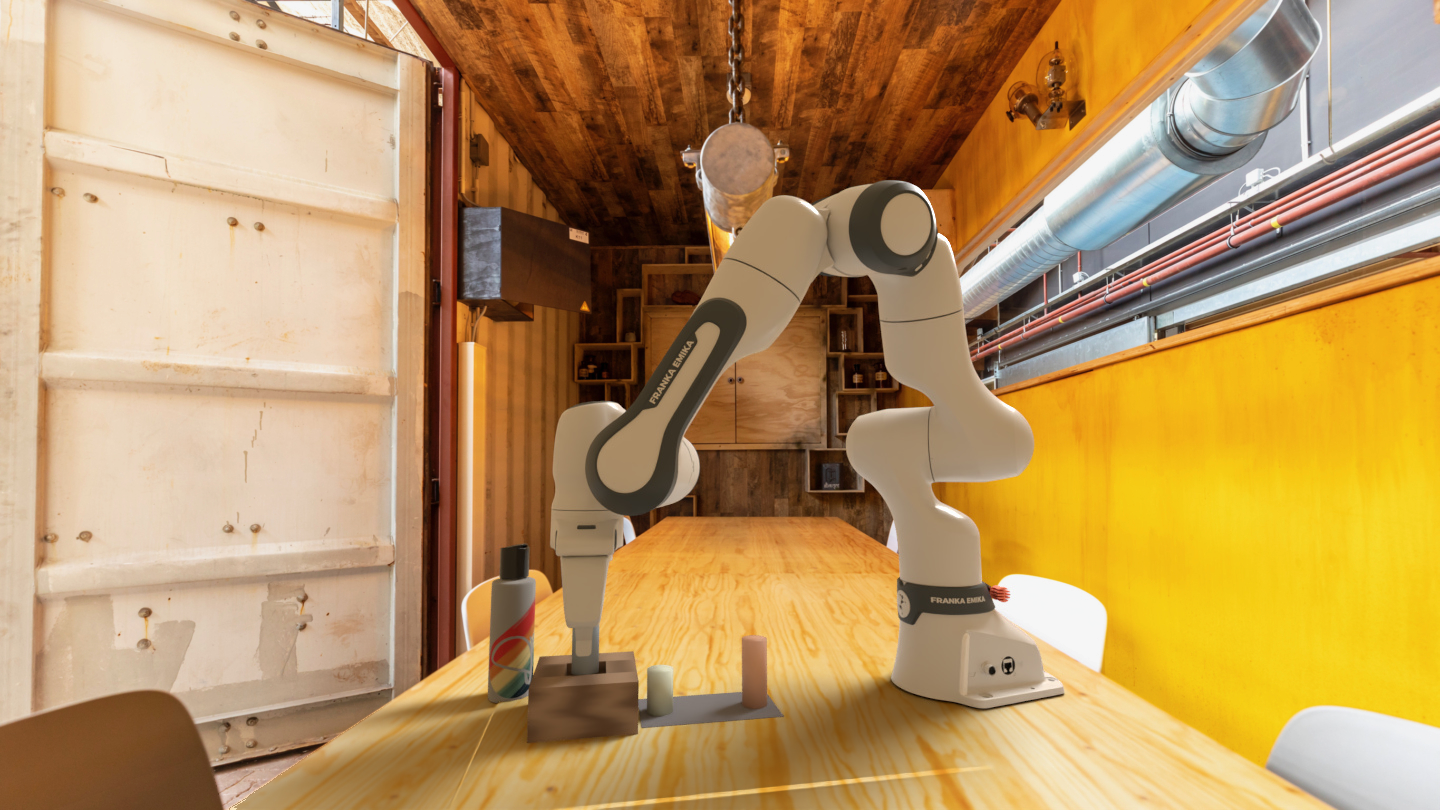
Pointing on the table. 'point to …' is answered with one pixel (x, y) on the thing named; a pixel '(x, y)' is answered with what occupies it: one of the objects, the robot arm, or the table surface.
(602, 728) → the socket block
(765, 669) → the pin medium
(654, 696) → the pin short
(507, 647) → the lotion bottle
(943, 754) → the table surface
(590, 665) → the pin long
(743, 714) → the mat
